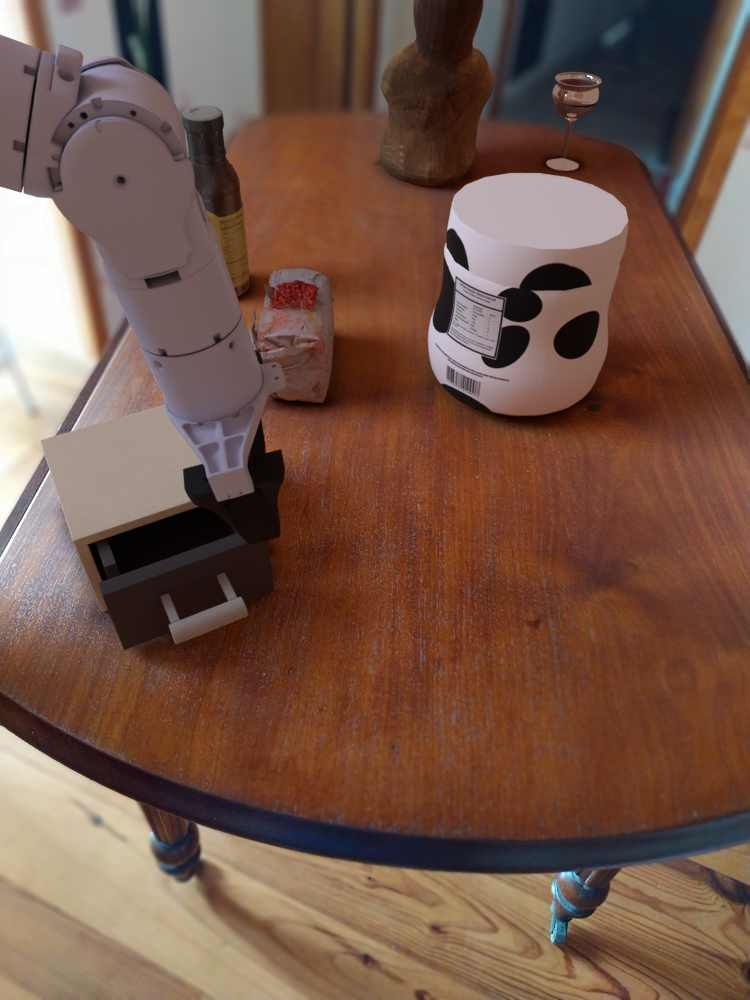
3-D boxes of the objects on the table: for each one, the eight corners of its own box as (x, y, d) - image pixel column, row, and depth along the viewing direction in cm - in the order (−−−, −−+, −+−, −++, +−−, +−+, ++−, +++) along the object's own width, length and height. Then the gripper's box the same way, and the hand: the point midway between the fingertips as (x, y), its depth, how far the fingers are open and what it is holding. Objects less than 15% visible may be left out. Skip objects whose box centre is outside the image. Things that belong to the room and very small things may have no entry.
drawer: (295, 629, 54) (289, 574, 50) (139, 694, 50) (117, 641, 46) (226, 502, 63) (216, 446, 58) (89, 549, 59) (67, 493, 55)
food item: (334, 412, 73) (331, 324, 66) (252, 412, 73) (240, 324, 66) (336, 334, 83) (334, 250, 76) (264, 334, 82) (254, 250, 75)
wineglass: (534, 157, 119) (548, 73, 110) (575, 154, 119) (591, 71, 111) (548, 174, 114) (564, 87, 105) (591, 171, 115) (609, 85, 106)
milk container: (585, 337, 83) (626, 172, 70) (605, 439, 71) (659, 262, 58) (428, 328, 84) (440, 163, 71) (421, 428, 71) (434, 250, 59)
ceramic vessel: (472, 147, 121) (496, -87, 100) (496, 207, 106) (530, -55, 84) (375, 148, 120) (378, -87, 99) (384, 208, 105) (390, -55, 83)
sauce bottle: (192, 281, 90) (160, 103, 76) (242, 271, 92) (220, 95, 78) (207, 308, 86) (177, 125, 72) (259, 297, 88) (240, 116, 74)
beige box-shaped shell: (260, 554, 60) (249, 481, 54) (102, 613, 56) (72, 541, 50) (212, 466, 67) (198, 394, 62) (69, 512, 63) (39, 439, 57)
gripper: (280, 385, 35) (335, 561, 45) (247, 242, 45) (298, 412, 55) (133, 424, 35) (221, 592, 45) (133, 272, 45) (205, 437, 55)
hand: (257, 495), depth 50 cm, fingers open, 7 cm apart
